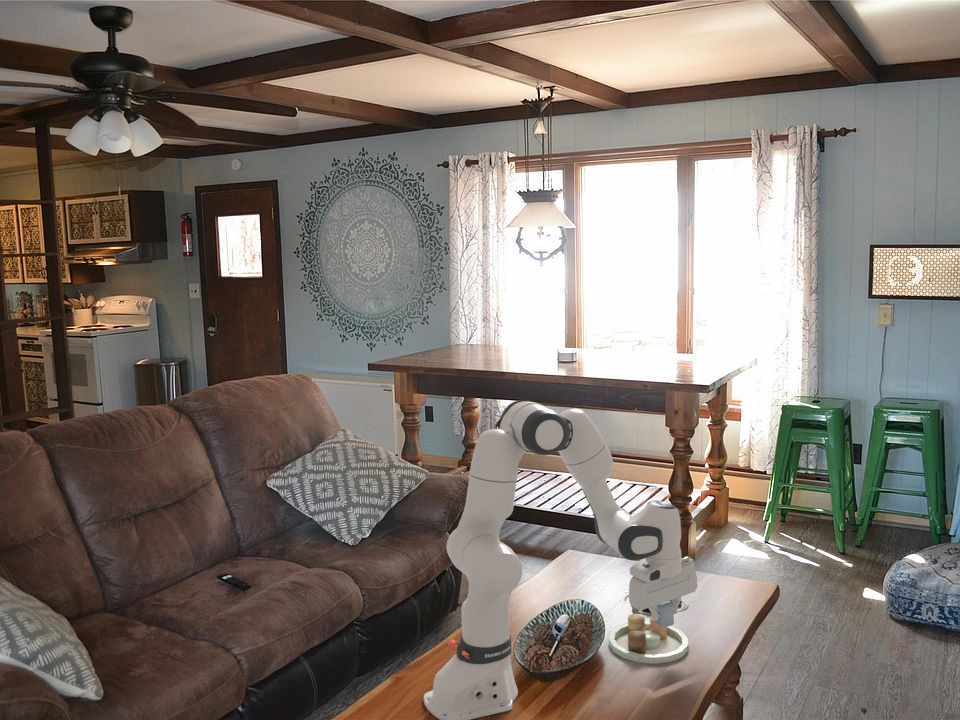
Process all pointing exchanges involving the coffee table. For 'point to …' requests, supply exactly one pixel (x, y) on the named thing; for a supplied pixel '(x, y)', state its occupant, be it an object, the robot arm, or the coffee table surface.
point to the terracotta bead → (658, 629)
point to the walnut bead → (637, 642)
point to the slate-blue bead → (666, 614)
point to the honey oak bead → (636, 622)
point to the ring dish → (650, 645)
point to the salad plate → (647, 611)
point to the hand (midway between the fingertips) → (664, 616)
